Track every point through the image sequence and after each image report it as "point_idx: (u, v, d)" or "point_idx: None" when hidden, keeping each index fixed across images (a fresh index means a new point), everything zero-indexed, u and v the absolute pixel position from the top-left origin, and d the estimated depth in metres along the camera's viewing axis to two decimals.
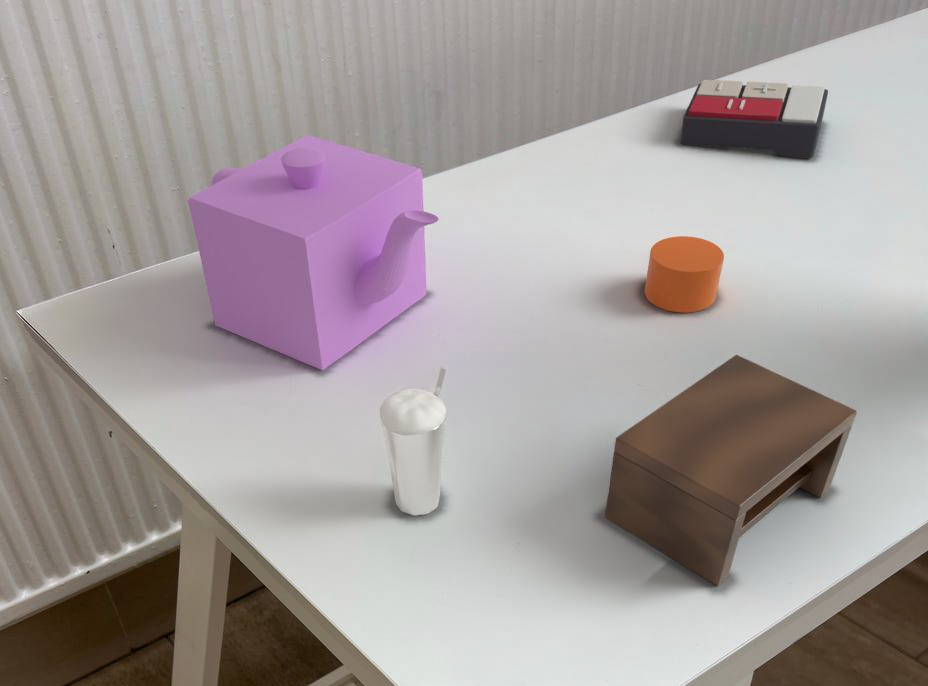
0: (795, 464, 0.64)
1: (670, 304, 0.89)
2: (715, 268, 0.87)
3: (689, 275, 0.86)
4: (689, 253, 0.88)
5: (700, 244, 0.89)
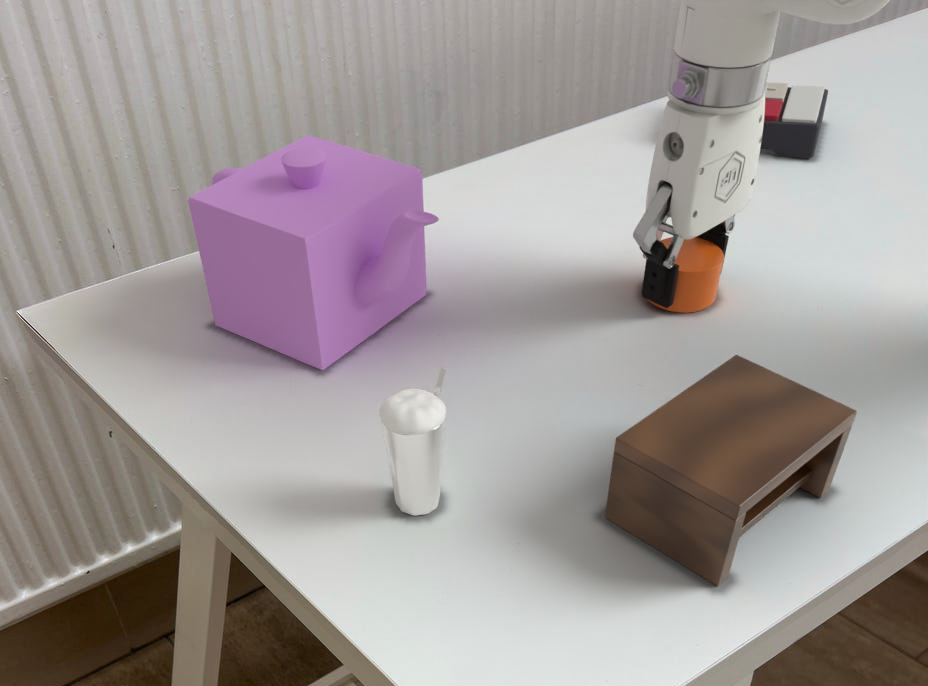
0: (795, 464, 0.64)
1: None
2: (715, 268, 0.87)
3: (689, 275, 0.86)
4: (689, 253, 0.88)
5: (700, 244, 0.89)
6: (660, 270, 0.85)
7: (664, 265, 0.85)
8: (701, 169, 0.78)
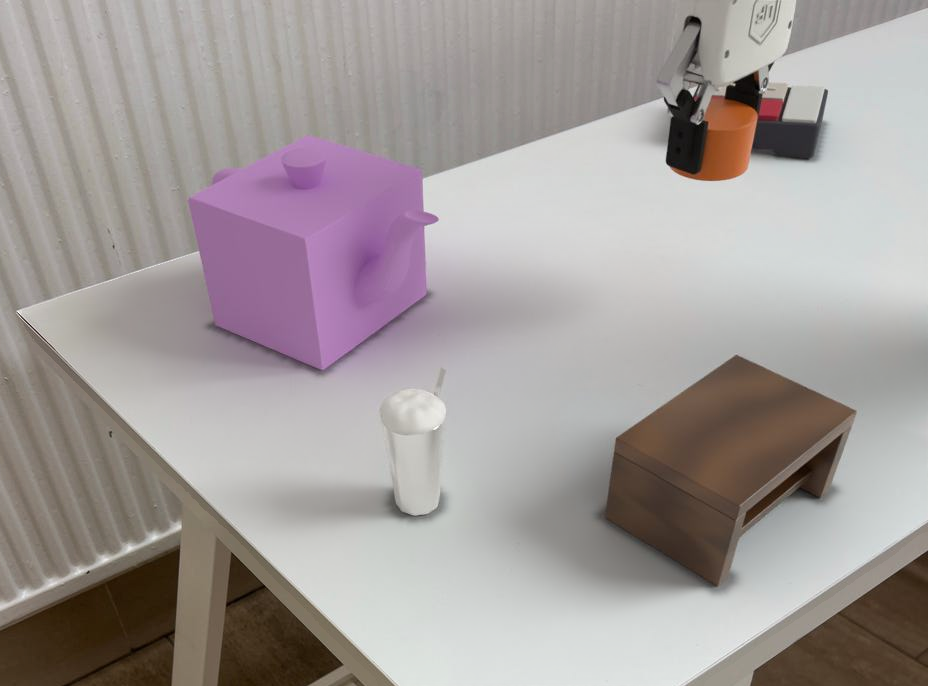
0: (795, 464, 0.64)
1: None
2: (748, 127, 0.77)
3: (719, 134, 0.77)
4: (719, 113, 0.79)
5: (730, 105, 0.80)
6: (687, 128, 0.76)
7: (691, 120, 0.75)
8: None
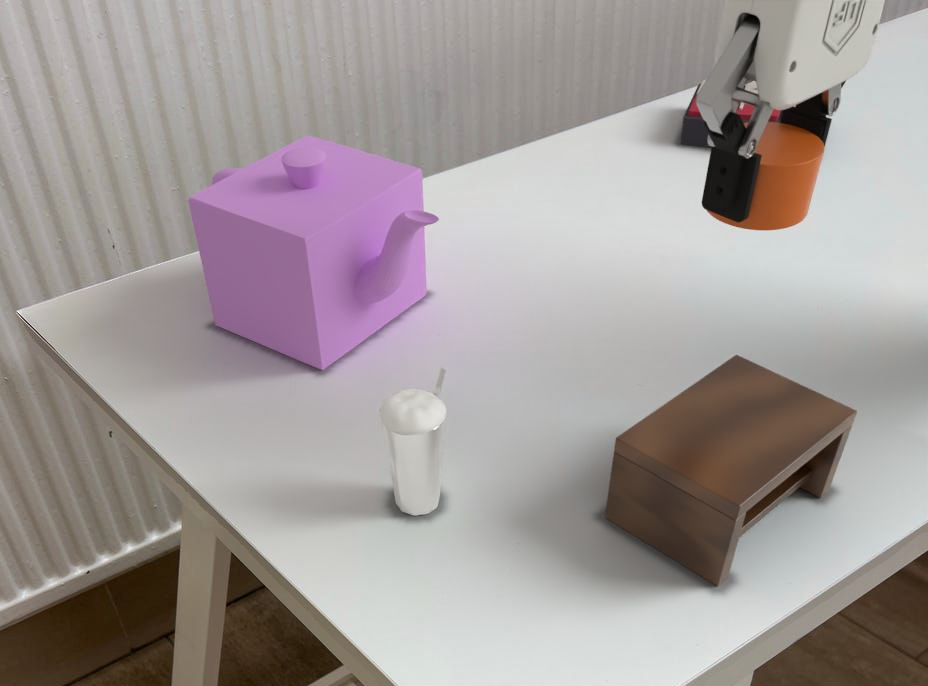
0: (795, 464, 0.64)
1: None
2: (813, 162, 0.59)
3: (775, 171, 0.58)
4: (773, 142, 0.60)
5: (788, 131, 0.61)
6: (733, 162, 0.57)
7: (740, 153, 0.57)
8: None
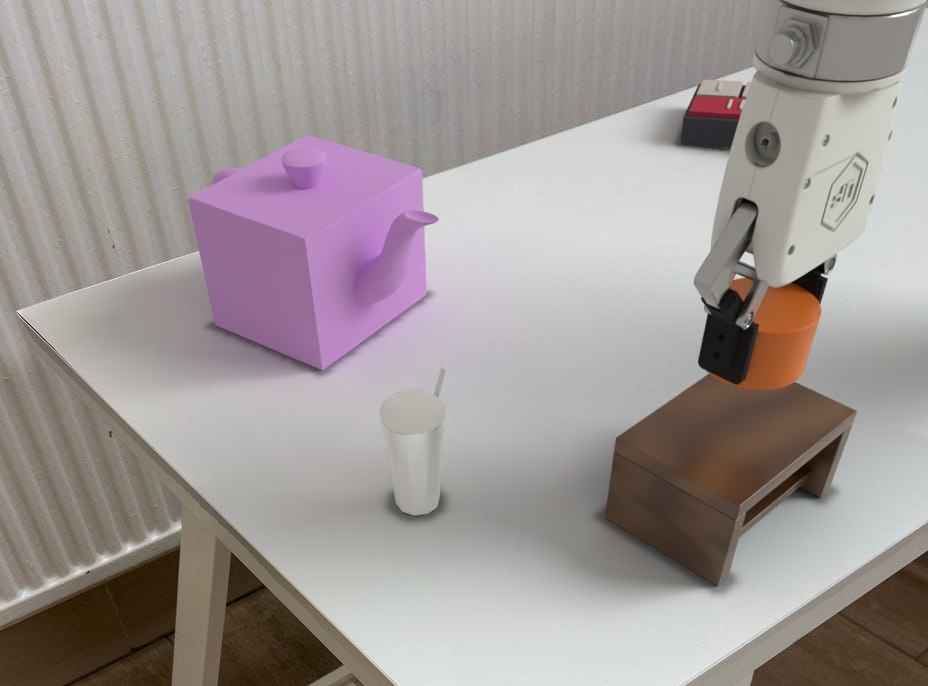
0: (795, 464, 0.64)
1: None
2: (810, 328, 0.58)
3: (772, 338, 0.58)
4: (769, 303, 0.59)
5: (784, 289, 0.60)
6: (730, 331, 0.57)
7: (737, 325, 0.56)
8: (806, 181, 0.49)
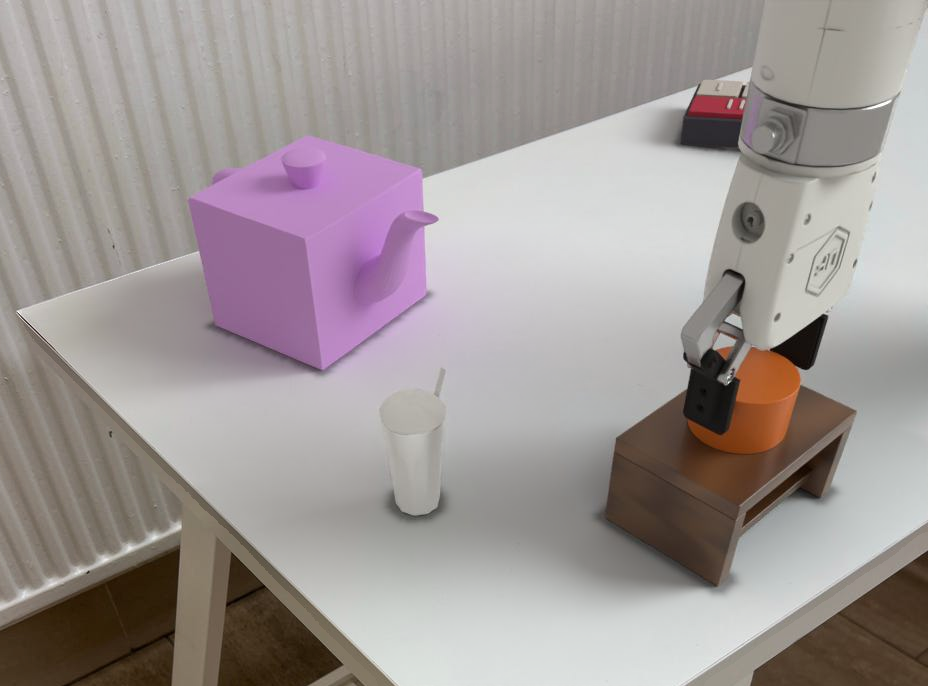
0: (795, 464, 0.64)
1: (725, 443, 0.64)
2: (790, 398, 0.62)
3: (754, 408, 0.61)
4: (752, 373, 0.63)
5: (766, 359, 0.64)
6: (712, 386, 0.59)
7: (719, 379, 0.58)
8: (790, 256, 0.52)
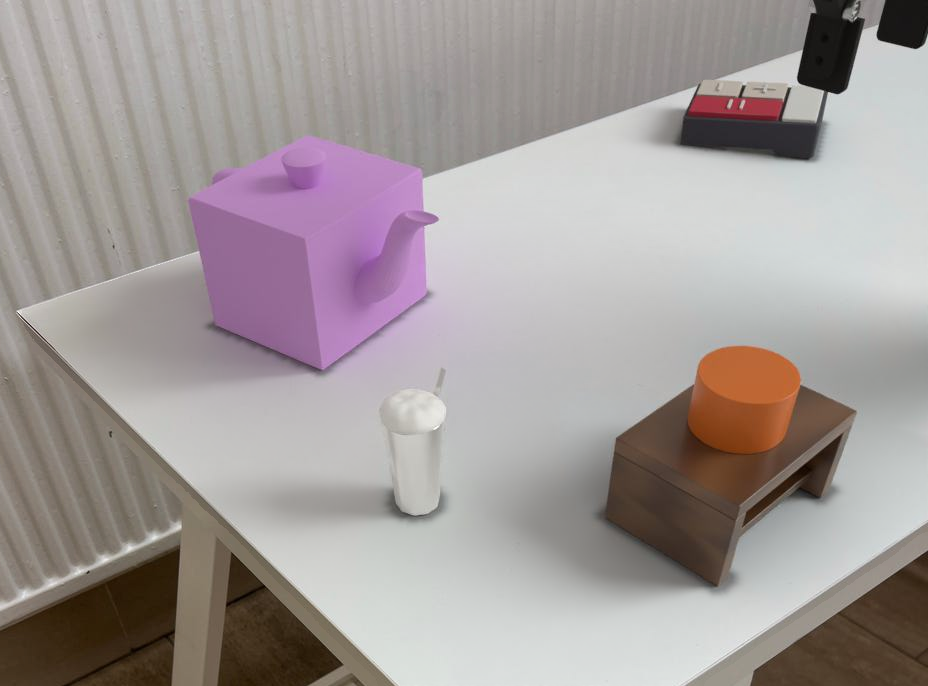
0: (795, 464, 0.64)
1: (725, 443, 0.64)
2: (790, 398, 0.62)
3: (754, 408, 0.61)
4: (752, 373, 0.63)
5: (766, 359, 0.64)
6: (835, 28, 0.56)
7: (844, 14, 0.55)
8: None
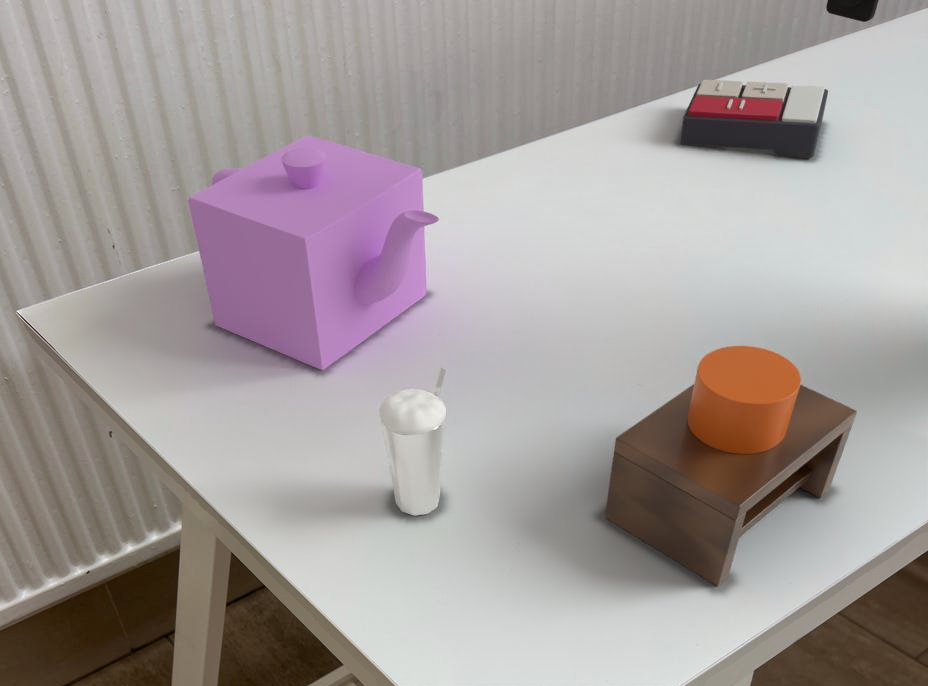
0: (795, 464, 0.64)
1: (725, 443, 0.64)
2: (790, 398, 0.62)
3: (754, 408, 0.61)
4: (752, 373, 0.63)
5: (766, 359, 0.64)
6: None
7: None
8: None
